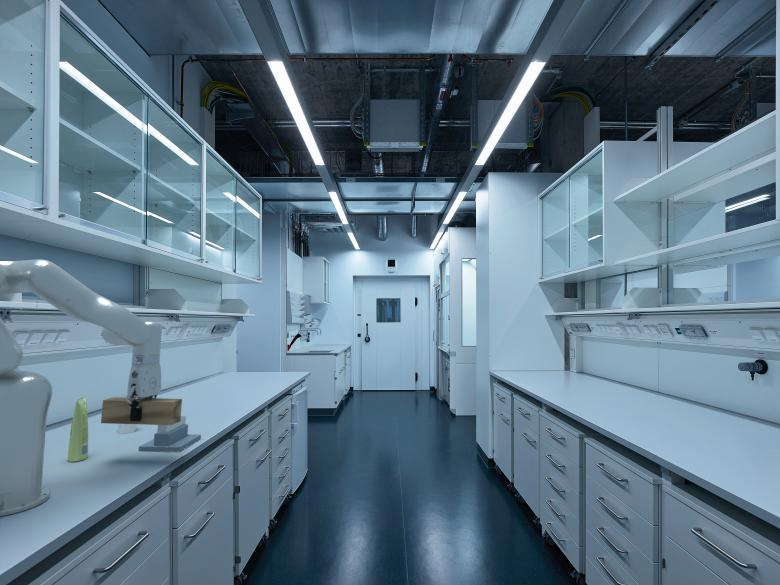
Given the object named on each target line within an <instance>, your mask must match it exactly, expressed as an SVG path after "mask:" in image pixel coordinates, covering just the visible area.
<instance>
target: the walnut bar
mask: <svg viewBox="0 0 780 585" xmlns="http://www.w3.org/2000/svg"><path fill="white" fill-rule="evenodd" d="M126 397H127V396H121V397H119V396H113V397H110V398H106V399H103V400H102V405H101V406H102V407H101V408H102V409H101V416H100V417H101V419H100V424H110V425H111V424H113V425H114V424H115V425H118V424H137V425H143V426H144V425H147V426H148V425H152V426H158V425H173V424H175V423H178V422H180V420H181V416H182V404H183V403H182V402H183V398H162V397H161V398H158V397H156V398H149V397H148V398H143V399H142V403H141V407H140V408H142V416H141V421H130V411H131V408H130V407H129V406H130V405H129V404H128V402H127V401H126V400H125V398H126ZM136 401H137V403H138V400H136Z"/></svg>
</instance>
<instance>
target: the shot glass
mask: <svg viewBox="0 0 780 585" xmlns="http://www.w3.org/2000/svg"><path fill="white" fill-rule="evenodd" d="M137 425H138V424H117V433H118V434H119V435H120V434H121V435H123V434H126V435H127V434H132V433H135V432H136V431H137Z"/></svg>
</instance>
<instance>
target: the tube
mask: <svg viewBox="0 0 780 585" xmlns="http://www.w3.org/2000/svg"><path fill="white" fill-rule="evenodd" d="M72 414H73V415H72V419H71V425H70V427H71V428H70V434H69V442H68V453H67V461H68V462H71V463H75V462H80V461H83V460H86V459H87V458H88V457H89V455H88V454H89V421H88V420H89V418H88V404H87V397H86V395H83V396H81V397H78V398H77V399H76V402H75V406H74V410H73V413H72Z"/></svg>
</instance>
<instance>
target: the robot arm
mask: <svg viewBox="0 0 780 585" xmlns="http://www.w3.org/2000/svg"><path fill="white" fill-rule="evenodd" d="M24 293H32V294H33V295H36V296H38V297H39V298H41V299H42V300H43V301H45V302H47V303H48V304H50V305H51V306H53V307H54V308H56V309H57V310H58V311H60V312H61V313H63V314H65V315H67V316H68V317H71V318H73V319H75V320H78V321H83V322H86V323H90V324H93V325H96V326H98V327H101V328H102V330H101V337H102V338H103V340H104V342H106V343H108V344H110V345H114V346H128V347H132V355H131V356H132V357H131V367H130V372H129V376H128V382H127V391H126V393H127V395H126V396H125V397H126V398H125V400H126V401H127V402H128V404H129V405H130V406H129V407H130V408H131V411H130V421H141V416H142V408H140V407H141V403H142V399H143V398H158V397H157V396H158V395H159V394H160V393H161V391H162V370H161V369H162V367H161V364H160V361H161V360H160V359H161V349H162V348H161V347H162V331H163V325H162V323H161V322H159V321H144V320H143V319H142V318H140V317H139V316H137V315H136V314H135V313H133V312H132V311H130V310H129V309H127V308H126V307H124V306H122V305H120V304H118V303H116V302H114V301H112V300H110V299H108V298H107V297H104V296H103V295H100V294H98V293H96V292H94V291H93V290H91V288H89V287H87V286H86V285H85V284H84V283H82V282H81V281H79V280H78V279H76V278H75V277H74V276H73V275H71V274H70V273H69V272H67V271H66V270H64V269H62V267H60V266H59V265H57V264H55V263H54V262H52V261H50V260H46V259H40V258H38V259H29V260H28V259H26V260H24V259H23V260H11V261H10V260H6V261H5V260H4V261H2V260H1V261H0V295H6V294H7V295H8V294H24ZM23 359H24V352H23V349H22V346H21V345H20V343H18V341H17V340H16V338H15V337H14V335H13V334H12V333H11V331H10V330H9V328H8V327H7V325H6V324H5V323H4V321H3V319H2V317H1V316H0V517H1V516H2V517H4V516H7V515H13V514H17V513H20V512H24V511H27V510H29V509H32V508H35V507H37V506H39V505H41V504H43V503H44V502H46V501H47V500H48V499H49V497H50V493H51V492H50V490H49V489H47V488H43V478H44V476H43V475H44V474H43V473H44V460H45V449H46V448H45V443H46V431H47V428H46V427H47V420H48V413H49V409H50V405H51V402H52V397H53V386H52V383H51V382H50V380H49V379H48V378H47V377H46V376H44V375H42V374H40V373H37V372H33V371H25V370H21V369H20V368H19V366H20V365H21V364H22V361H23ZM136 400H138V403H137V401H136Z"/></svg>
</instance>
